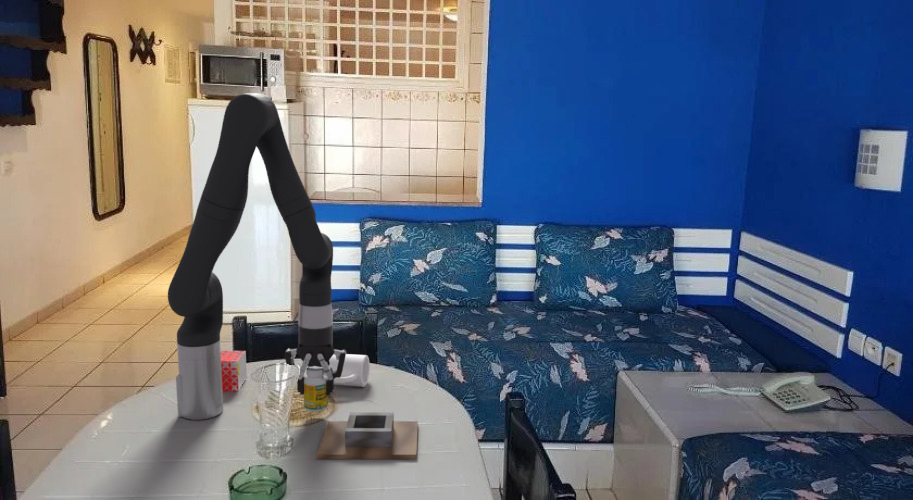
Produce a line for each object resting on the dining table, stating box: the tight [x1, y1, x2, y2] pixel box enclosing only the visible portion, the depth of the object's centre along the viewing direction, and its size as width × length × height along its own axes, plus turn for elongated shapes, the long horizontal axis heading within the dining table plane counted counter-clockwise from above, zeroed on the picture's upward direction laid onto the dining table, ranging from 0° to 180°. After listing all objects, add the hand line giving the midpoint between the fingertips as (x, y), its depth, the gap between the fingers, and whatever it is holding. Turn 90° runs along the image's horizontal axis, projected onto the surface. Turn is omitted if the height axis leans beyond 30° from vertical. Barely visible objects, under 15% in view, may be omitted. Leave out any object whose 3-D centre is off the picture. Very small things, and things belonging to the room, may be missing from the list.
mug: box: [324, 353, 371, 388], centre depth 184 cm, size 12×10×8 cm
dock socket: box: [316, 411, 419, 460], centre depth 154 cm, size 20×16×4 cm
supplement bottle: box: [303, 366, 329, 413], centre depth 164 cm, size 5×5×10 cm
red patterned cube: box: [221, 350, 248, 392], centre depth 184 cm, size 8×8×8 cm
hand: (315, 393), depth 165 cm, fingers closed on supplement bottle, 5 cm apart
